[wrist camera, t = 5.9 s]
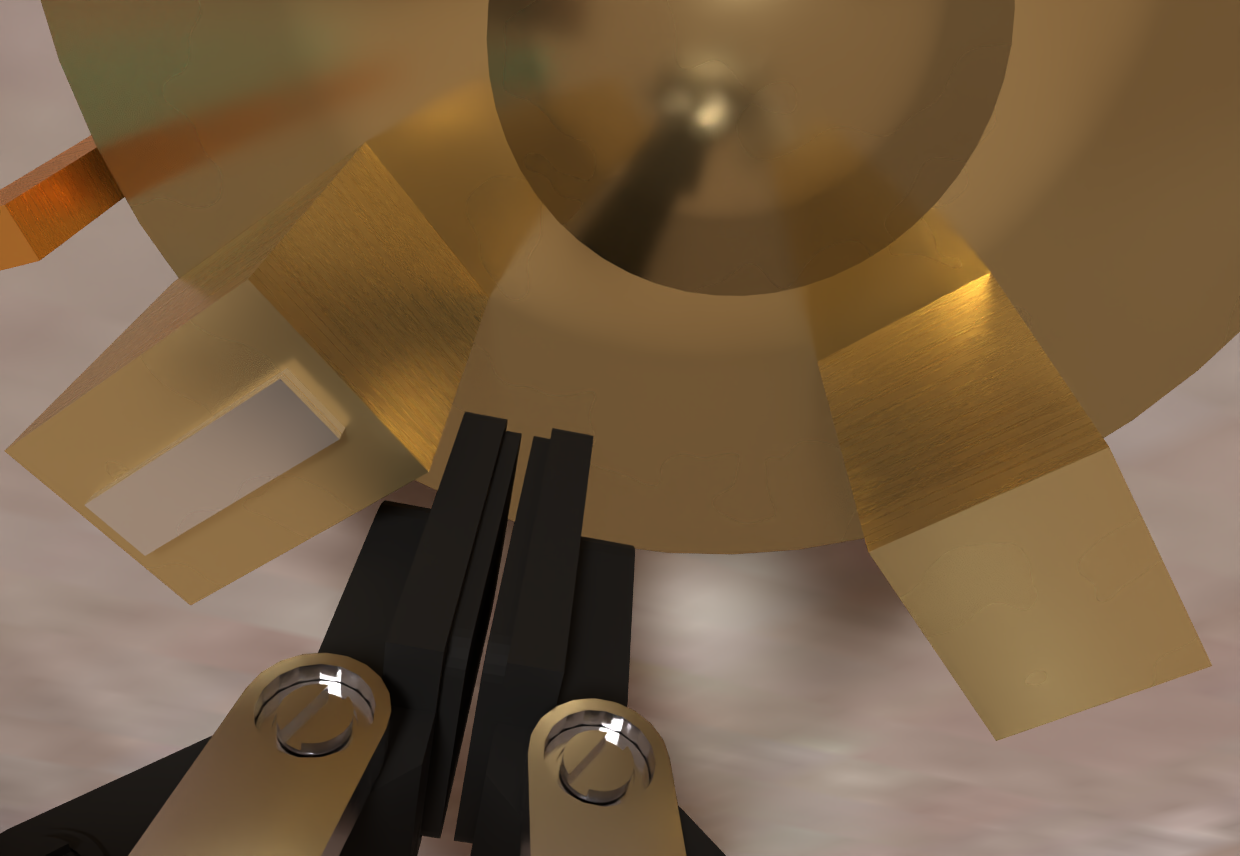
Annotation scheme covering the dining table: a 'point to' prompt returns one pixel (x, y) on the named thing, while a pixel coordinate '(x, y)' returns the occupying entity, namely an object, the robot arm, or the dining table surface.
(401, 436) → the gold crown turntable
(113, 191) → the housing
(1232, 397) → the dining table surface
